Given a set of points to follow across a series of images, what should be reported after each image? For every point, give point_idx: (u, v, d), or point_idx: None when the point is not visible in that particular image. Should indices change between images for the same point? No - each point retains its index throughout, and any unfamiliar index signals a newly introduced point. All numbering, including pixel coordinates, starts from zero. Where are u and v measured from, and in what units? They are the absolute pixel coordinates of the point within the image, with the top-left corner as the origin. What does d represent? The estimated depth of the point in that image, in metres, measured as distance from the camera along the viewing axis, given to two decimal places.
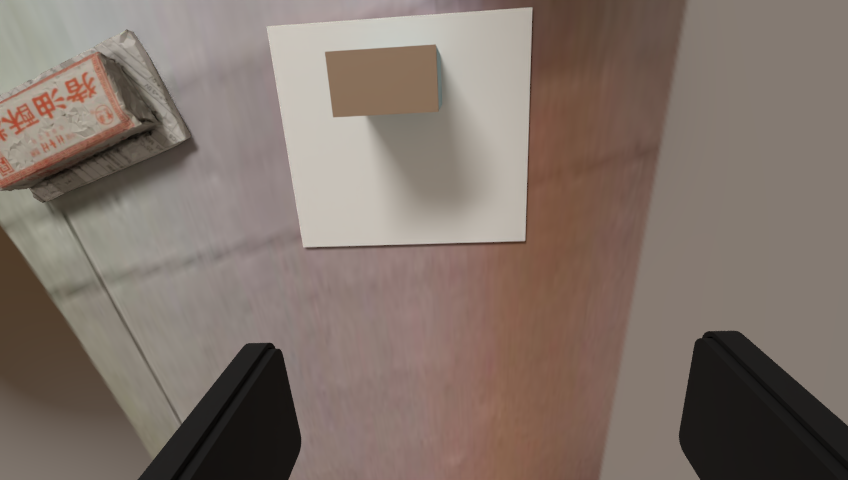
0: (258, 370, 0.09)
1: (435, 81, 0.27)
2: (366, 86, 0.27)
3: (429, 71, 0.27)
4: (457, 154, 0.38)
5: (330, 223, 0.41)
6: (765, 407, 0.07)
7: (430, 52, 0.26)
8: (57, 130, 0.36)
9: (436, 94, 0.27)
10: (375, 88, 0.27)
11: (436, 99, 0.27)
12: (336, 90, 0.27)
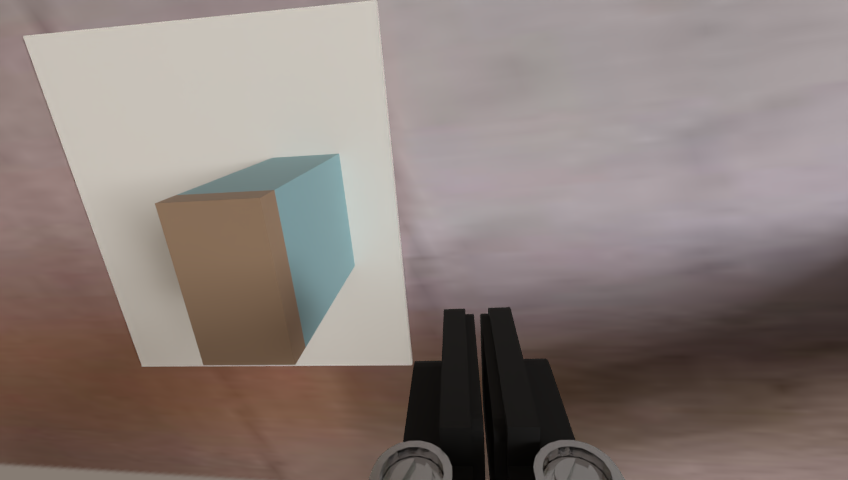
0: (470, 331, 0.09)
1: (244, 363, 0.17)
2: (217, 263, 0.16)
3: (257, 355, 0.17)
4: None
5: (82, 91, 0.24)
6: None
7: (283, 357, 0.17)
8: None
9: (227, 363, 0.17)
10: (217, 278, 0.16)
11: (220, 363, 0.18)
12: (201, 213, 0.15)
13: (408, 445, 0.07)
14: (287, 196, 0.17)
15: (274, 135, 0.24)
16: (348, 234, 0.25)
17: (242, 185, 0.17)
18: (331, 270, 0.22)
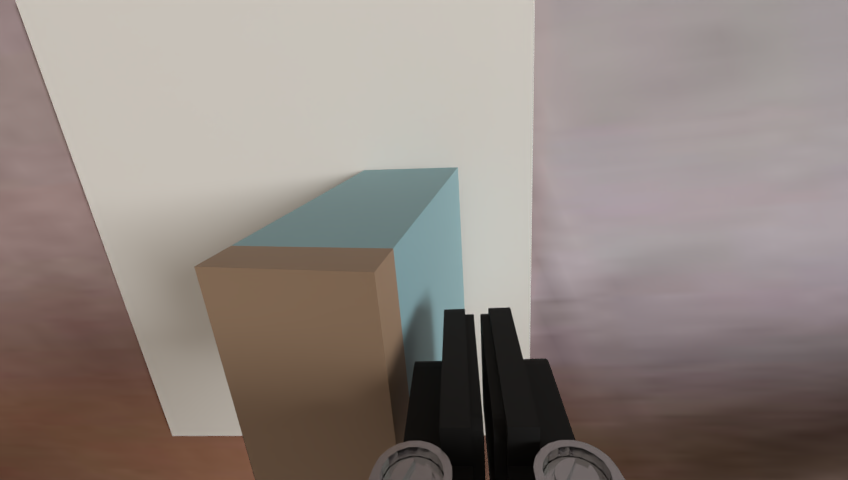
0: (470, 331, 0.09)
1: None
2: (292, 370, 0.09)
3: None
4: None
5: (99, 79, 0.17)
6: None
7: None
8: None
9: None
10: (291, 391, 0.09)
11: None
12: (268, 288, 0.09)
13: (408, 445, 0.07)
14: (408, 252, 0.10)
15: (369, 139, 0.17)
16: (461, 279, 0.18)
17: (335, 229, 0.10)
18: None
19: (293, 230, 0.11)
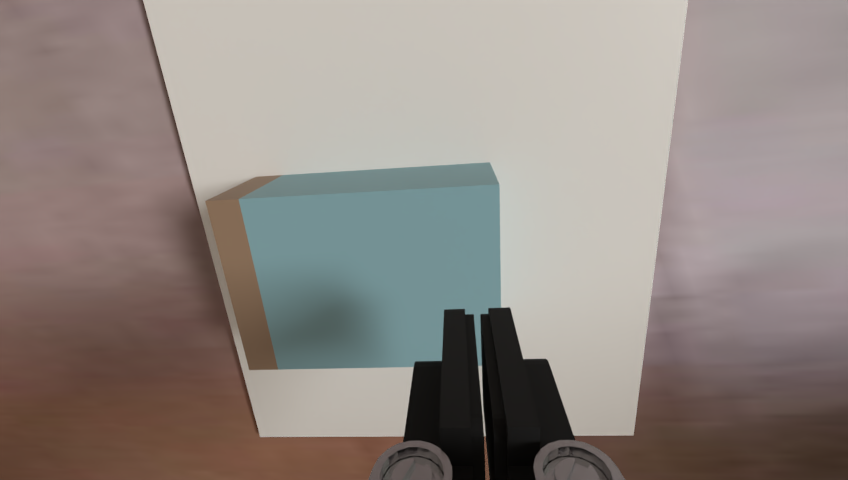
0: (470, 331, 0.09)
1: None
2: None
3: None
4: None
5: (220, 68, 0.17)
6: None
7: None
8: None
9: None
10: None
11: None
12: None
13: (408, 445, 0.07)
14: (271, 212, 0.14)
15: (499, 130, 0.17)
16: None
17: (290, 184, 0.16)
18: (386, 332, 0.16)
19: (299, 178, 0.17)
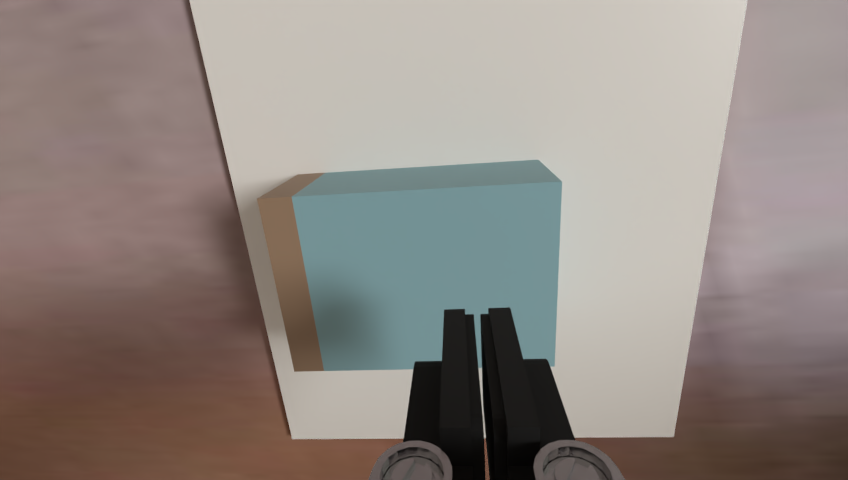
0: (470, 331, 0.09)
1: None
2: None
3: None
4: None
5: (264, 63, 0.16)
6: None
7: None
8: None
9: None
10: None
11: None
12: None
13: (408, 445, 0.07)
14: (324, 210, 0.14)
15: (549, 127, 0.17)
16: (545, 314, 0.15)
17: (339, 182, 0.16)
18: (437, 332, 0.16)
19: (345, 176, 0.17)
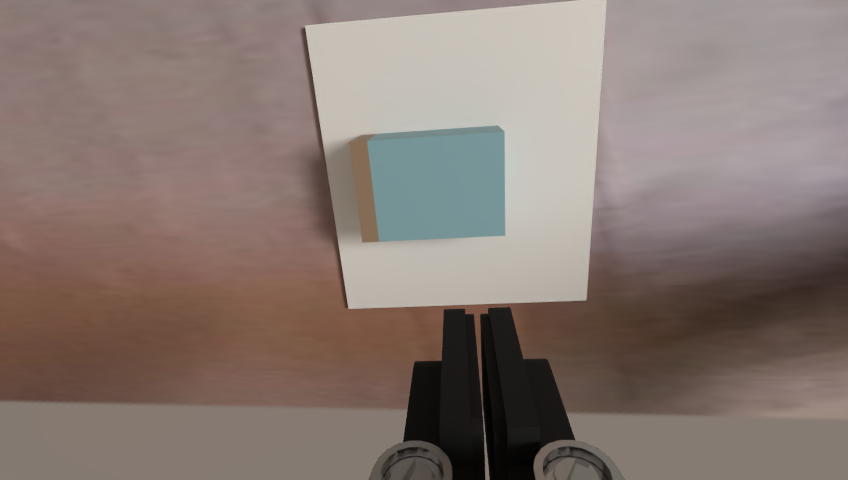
0: (470, 331, 0.09)
1: None
2: None
3: None
4: None
5: (345, 71, 0.30)
6: None
7: None
8: None
9: None
10: None
11: None
12: None
13: (408, 445, 0.07)
14: (384, 147, 0.27)
15: (503, 106, 0.30)
16: (499, 204, 0.28)
17: (388, 136, 0.29)
18: (442, 216, 0.29)
19: (390, 134, 0.30)
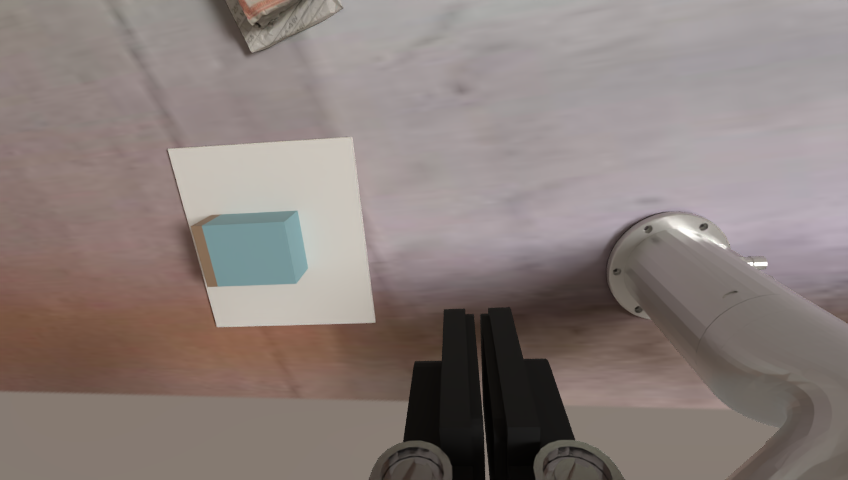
0: (470, 331, 0.09)
1: None
2: None
3: None
4: None
5: (196, 176, 0.46)
6: None
7: None
8: None
9: None
10: None
11: None
12: None
13: (408, 445, 0.07)
14: (212, 230, 0.44)
15: (299, 199, 0.46)
16: (288, 264, 0.45)
17: (221, 219, 0.45)
18: (254, 271, 0.45)
19: (226, 216, 0.46)
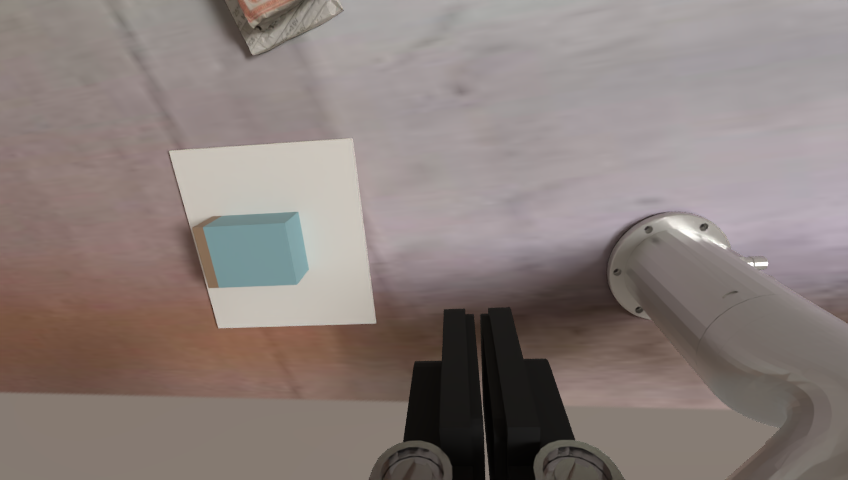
0: (470, 331, 0.09)
1: None
2: None
3: None
4: None
5: (197, 178, 0.46)
6: None
7: None
8: None
9: None
10: None
11: None
12: None
13: (408, 445, 0.07)
14: (213, 231, 0.44)
15: (300, 200, 0.46)
16: (289, 266, 0.45)
17: (222, 221, 0.45)
18: (255, 272, 0.45)
19: (227, 217, 0.46)
